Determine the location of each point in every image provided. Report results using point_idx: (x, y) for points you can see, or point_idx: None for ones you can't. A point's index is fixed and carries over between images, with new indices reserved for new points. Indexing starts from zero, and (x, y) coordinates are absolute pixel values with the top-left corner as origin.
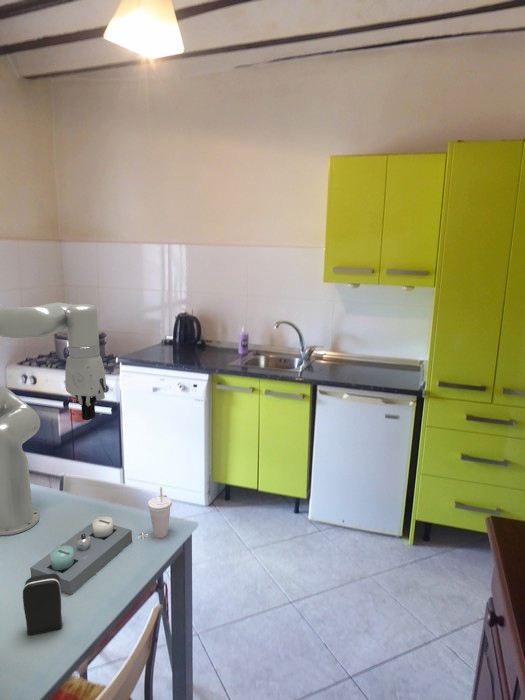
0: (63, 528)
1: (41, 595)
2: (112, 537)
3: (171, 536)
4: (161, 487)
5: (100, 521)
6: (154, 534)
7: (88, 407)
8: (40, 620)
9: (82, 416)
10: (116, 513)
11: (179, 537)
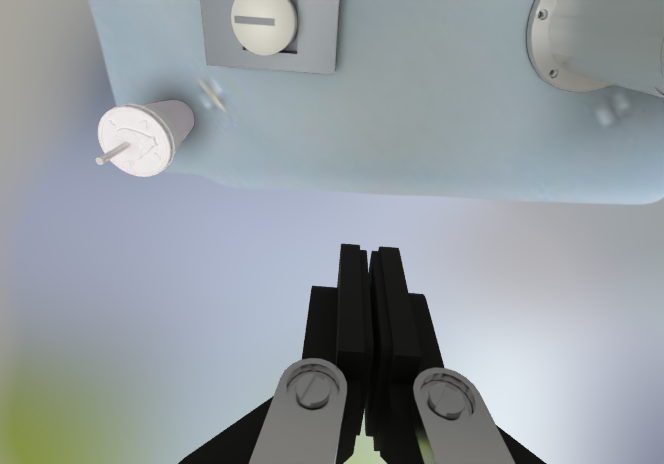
0: (433, 49)
1: None
2: (227, 7)
3: None
4: (98, 162)
5: (267, 18)
6: (180, 102)
7: (332, 357)
8: None
9: (395, 262)
10: (338, 160)
11: None
